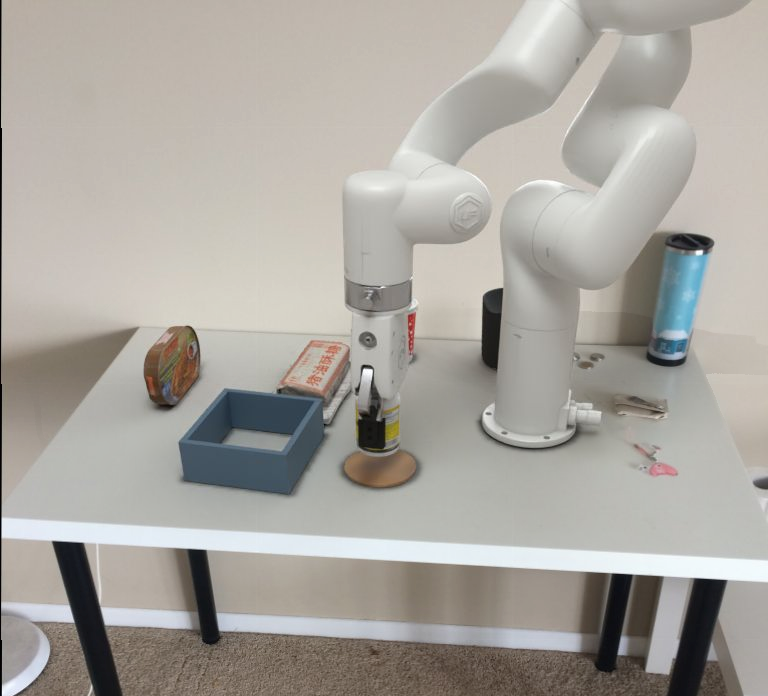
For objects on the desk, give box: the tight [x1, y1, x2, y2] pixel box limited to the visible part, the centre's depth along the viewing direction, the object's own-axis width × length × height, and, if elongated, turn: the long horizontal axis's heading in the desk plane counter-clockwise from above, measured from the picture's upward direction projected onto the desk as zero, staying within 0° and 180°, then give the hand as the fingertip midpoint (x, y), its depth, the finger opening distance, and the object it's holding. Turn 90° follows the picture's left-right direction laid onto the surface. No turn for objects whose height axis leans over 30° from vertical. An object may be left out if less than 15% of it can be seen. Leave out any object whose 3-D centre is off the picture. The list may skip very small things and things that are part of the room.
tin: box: [143, 324, 202, 406], centre depth 125 cm, size 15×3×8 cm, turn 170°
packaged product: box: [271, 339, 352, 425], centre depth 125 cm, size 18×5×10 cm
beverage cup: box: [407, 297, 419, 363], centre depth 132 cm, size 6×6×14 cm
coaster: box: [343, 449, 417, 489], centre depth 109 cm, size 9×9×1 cm
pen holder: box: [481, 287, 503, 370], centre depth 132 cm, size 9×9×10 cm
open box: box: [177, 387, 325, 495], centre depth 110 cm, size 14×15×6 cm
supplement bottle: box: [354, 388, 401, 457], centre depth 104 cm, size 5×5×10 cm
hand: (378, 433), depth 106 cm, fingers closed on supplement bottle, 5 cm apart
